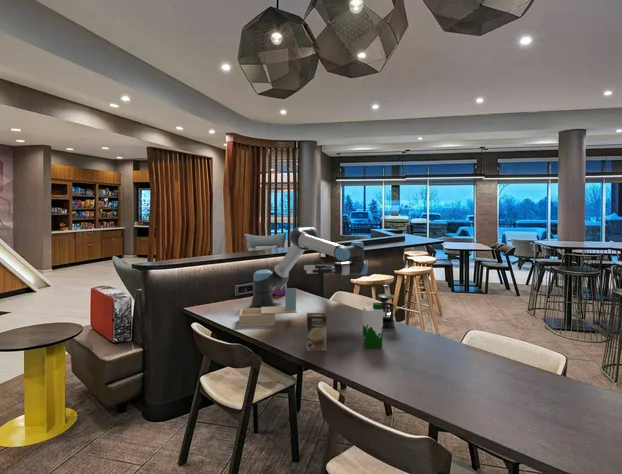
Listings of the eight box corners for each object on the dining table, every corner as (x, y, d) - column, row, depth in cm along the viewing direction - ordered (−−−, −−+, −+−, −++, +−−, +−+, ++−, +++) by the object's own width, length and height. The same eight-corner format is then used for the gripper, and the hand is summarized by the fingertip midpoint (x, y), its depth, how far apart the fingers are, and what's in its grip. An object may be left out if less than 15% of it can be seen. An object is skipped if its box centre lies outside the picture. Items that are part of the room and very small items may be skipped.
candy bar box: (271, 295, 278) (270, 274, 277) (272, 293, 283) (272, 272, 282) (285, 295, 277) (285, 274, 276) (286, 294, 282) (286, 273, 281)
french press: (399, 326, 201) (399, 285, 200) (387, 329, 196) (388, 287, 194) (382, 321, 211) (383, 282, 209) (371, 324, 205) (371, 284, 203)
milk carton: (384, 348, 169) (385, 306, 167) (365, 349, 168) (365, 306, 167) (379, 341, 177) (379, 301, 176) (361, 342, 177) (361, 301, 175)
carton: (274, 317, 219) (274, 307, 218) (275, 324, 205) (275, 314, 205) (241, 318, 216) (240, 308, 216) (239, 326, 203) (239, 315, 202)
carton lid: (294, 306, 220) (294, 286, 219) (296, 312, 206) (296, 291, 205) (261, 307, 218) (261, 287, 217) (261, 314, 204) (260, 292, 203)
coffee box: (306, 351, 166) (306, 316, 165) (306, 346, 172) (306, 312, 171) (326, 351, 166) (326, 316, 165) (325, 345, 172) (325, 312, 171)
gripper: (345, 278, 202) (307, 279, 200) (337, 271, 227) (303, 272, 225) (345, 265, 202) (307, 265, 199) (337, 259, 227) (303, 260, 224)
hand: (305, 269), depth 212 cm, fingers open, 13 cm apart
